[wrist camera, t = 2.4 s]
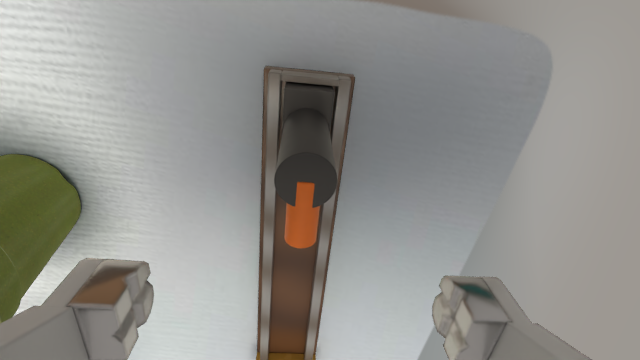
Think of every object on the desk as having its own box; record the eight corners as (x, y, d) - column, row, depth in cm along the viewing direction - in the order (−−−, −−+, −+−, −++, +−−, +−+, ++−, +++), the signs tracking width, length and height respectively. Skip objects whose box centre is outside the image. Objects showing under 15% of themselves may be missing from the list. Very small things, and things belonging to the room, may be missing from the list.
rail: (265, 65, 23) (260, 72, 20) (353, 74, 23) (358, 81, 21) (257, 361, 37) (254, 385, 35) (312, 363, 37) (313, 386, 35)
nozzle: (286, 79, 22) (273, 125, 14) (332, 83, 22) (347, 131, 14) (281, 164, 25) (268, 247, 16) (322, 167, 25) (330, 250, 17)
